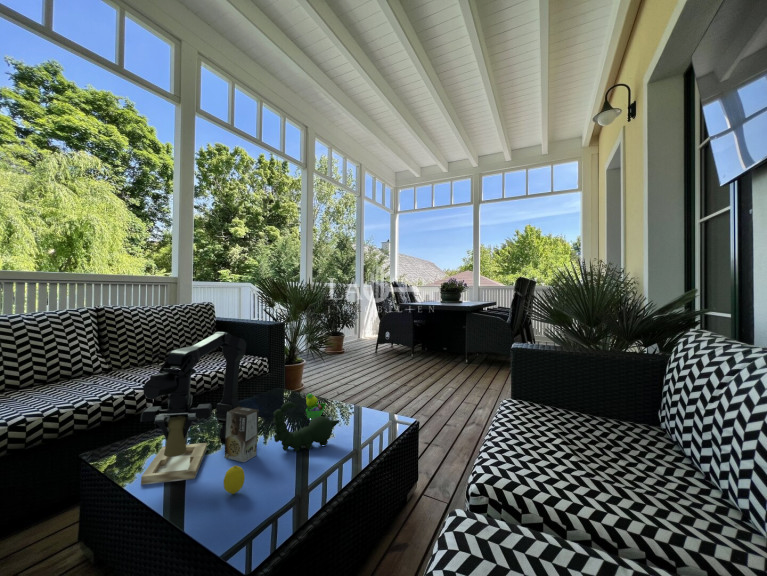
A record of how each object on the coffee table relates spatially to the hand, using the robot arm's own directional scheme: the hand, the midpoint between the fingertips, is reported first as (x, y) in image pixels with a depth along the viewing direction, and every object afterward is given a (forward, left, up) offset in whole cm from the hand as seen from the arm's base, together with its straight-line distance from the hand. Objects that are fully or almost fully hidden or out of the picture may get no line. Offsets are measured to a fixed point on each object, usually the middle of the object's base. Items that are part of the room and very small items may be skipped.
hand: (176, 439), depth 104 cm
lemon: (-19, +17, -11) cm, 27 cm away
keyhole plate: (0, -4, -10) cm, 11 cm away
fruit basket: (-49, -39, -11) cm, 64 cm away
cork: (0, 0, -4) cm, 4 cm away
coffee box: (-19, -6, -11) cm, 23 cm away
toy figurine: (-42, -8, -11) cm, 44 cm away
